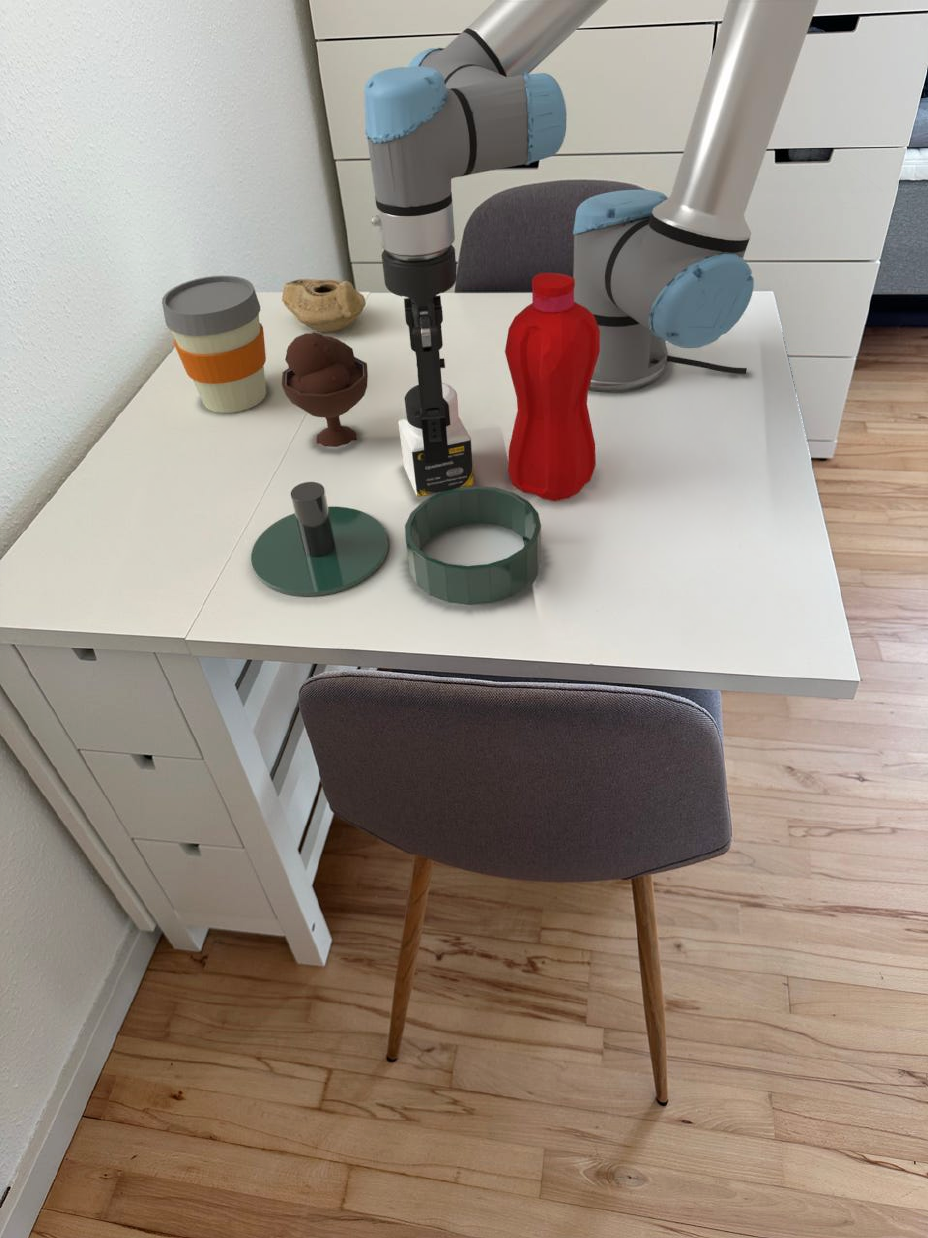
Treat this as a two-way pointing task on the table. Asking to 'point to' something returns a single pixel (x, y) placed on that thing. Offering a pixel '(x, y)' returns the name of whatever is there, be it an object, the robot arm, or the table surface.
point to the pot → (478, 579)
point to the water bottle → (552, 390)
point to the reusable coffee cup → (219, 340)
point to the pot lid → (318, 546)
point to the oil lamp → (323, 303)
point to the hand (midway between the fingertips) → (435, 440)
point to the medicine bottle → (458, 440)
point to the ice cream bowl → (325, 382)
